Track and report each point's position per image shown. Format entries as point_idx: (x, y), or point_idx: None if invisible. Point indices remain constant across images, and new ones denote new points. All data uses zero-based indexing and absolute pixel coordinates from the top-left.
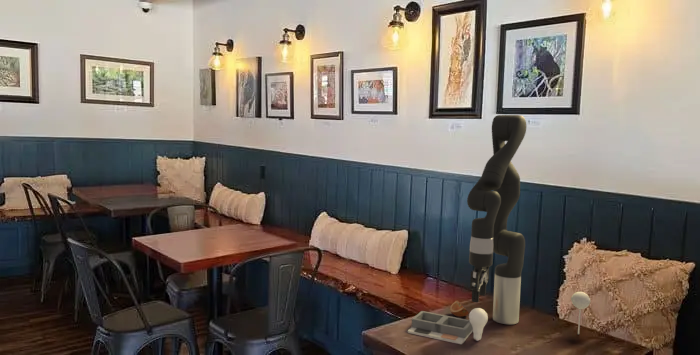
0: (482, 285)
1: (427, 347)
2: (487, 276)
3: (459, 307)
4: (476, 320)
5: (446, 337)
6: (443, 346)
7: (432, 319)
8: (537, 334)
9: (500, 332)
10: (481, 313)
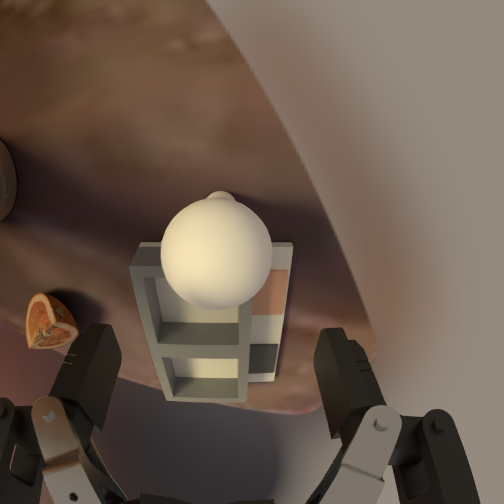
0: (91, 411)
1: (352, 314)
2: (62, 499)
3: (55, 331)
4: (272, 250)
5: (283, 299)
6: (331, 285)
7: (170, 365)
8: (38, 32)
9: (84, 148)
10: (249, 251)
